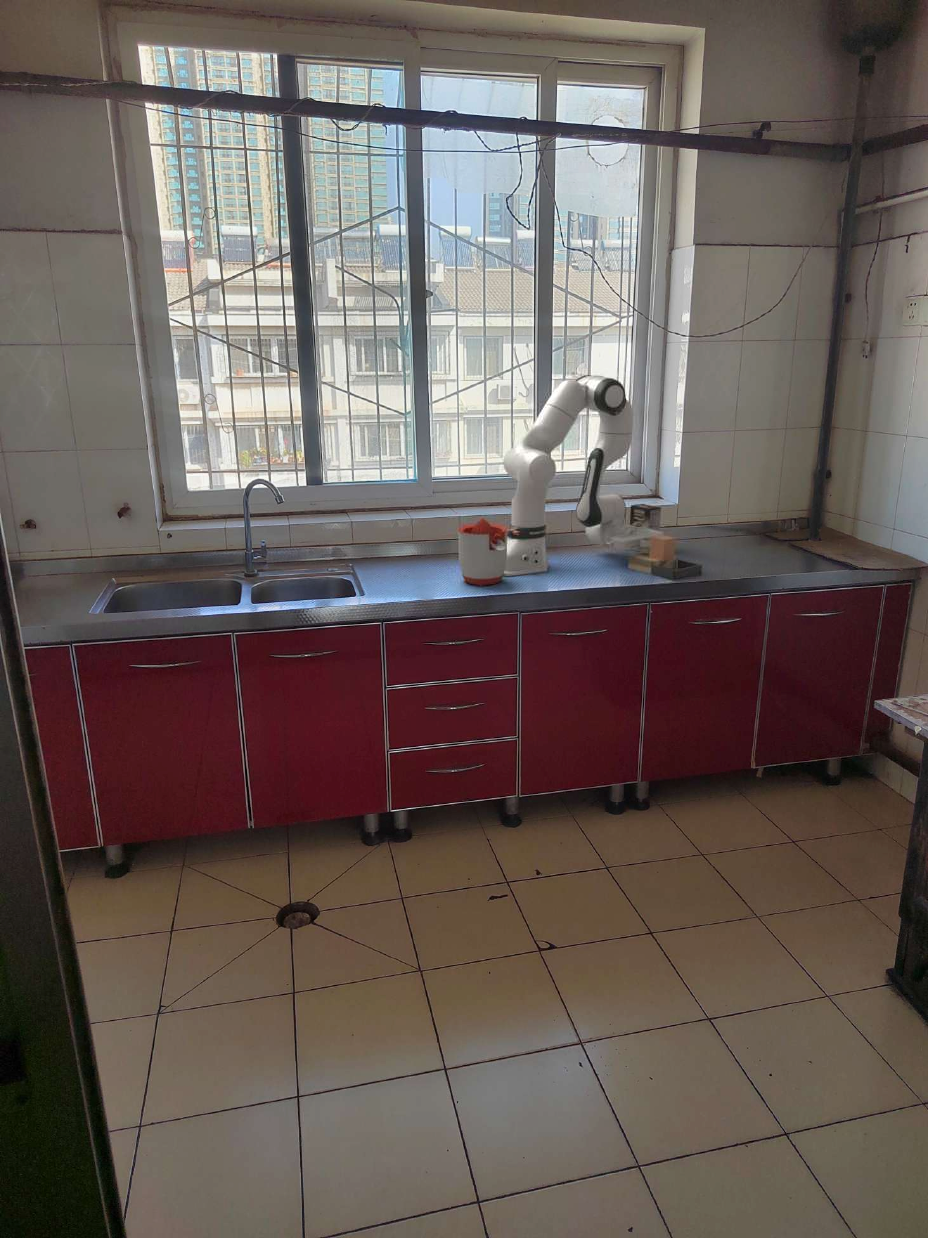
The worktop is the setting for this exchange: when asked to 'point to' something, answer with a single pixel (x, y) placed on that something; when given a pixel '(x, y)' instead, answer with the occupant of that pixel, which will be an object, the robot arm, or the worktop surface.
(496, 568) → the citrus juicer
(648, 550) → the coffee box
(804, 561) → the worktop surface
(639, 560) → the tan flat box
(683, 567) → the tray
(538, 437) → the robot arm
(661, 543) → the tile block
